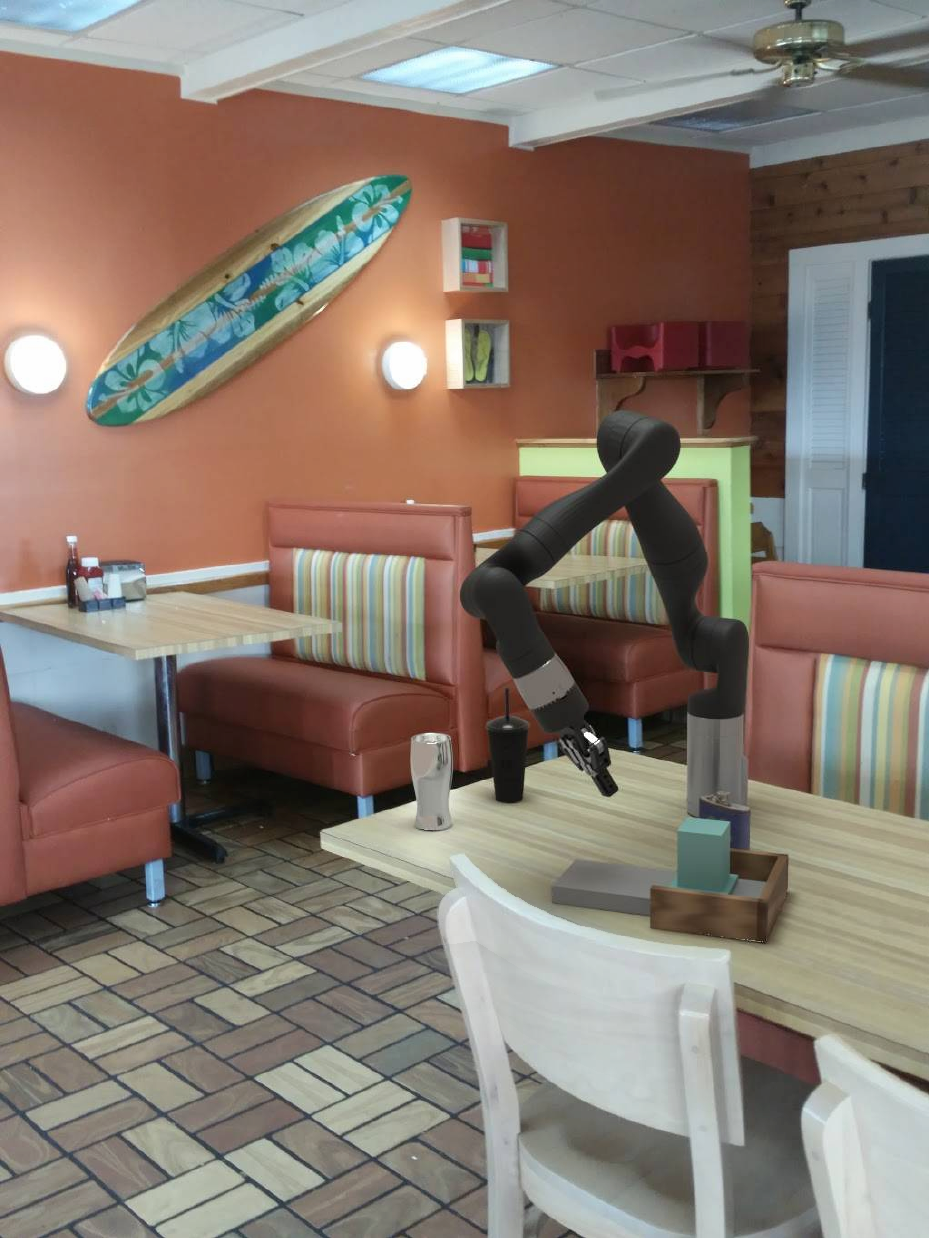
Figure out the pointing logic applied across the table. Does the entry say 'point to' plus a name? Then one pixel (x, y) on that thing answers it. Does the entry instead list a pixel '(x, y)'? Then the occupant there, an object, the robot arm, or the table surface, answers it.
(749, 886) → the board
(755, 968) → the table surface
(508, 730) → the drinking cup
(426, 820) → the beer glass
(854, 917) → the table surface
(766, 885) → the box
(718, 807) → the flask
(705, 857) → the teal block
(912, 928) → the table surface
